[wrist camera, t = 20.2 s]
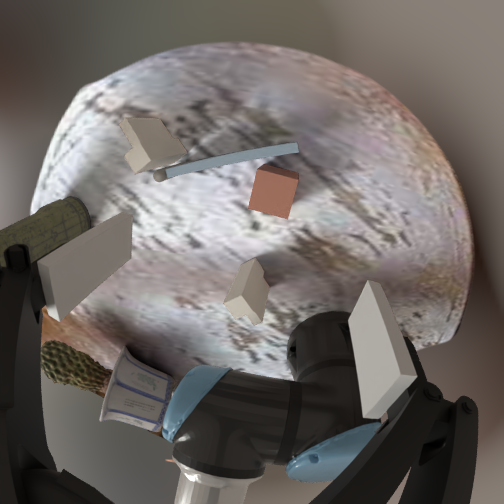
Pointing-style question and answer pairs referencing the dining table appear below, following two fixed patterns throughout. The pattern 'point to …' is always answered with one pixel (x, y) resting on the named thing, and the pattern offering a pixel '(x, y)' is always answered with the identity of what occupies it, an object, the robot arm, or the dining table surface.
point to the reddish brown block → (273, 191)
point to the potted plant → (113, 384)
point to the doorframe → (169, 151)
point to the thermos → (47, 228)
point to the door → (225, 160)
